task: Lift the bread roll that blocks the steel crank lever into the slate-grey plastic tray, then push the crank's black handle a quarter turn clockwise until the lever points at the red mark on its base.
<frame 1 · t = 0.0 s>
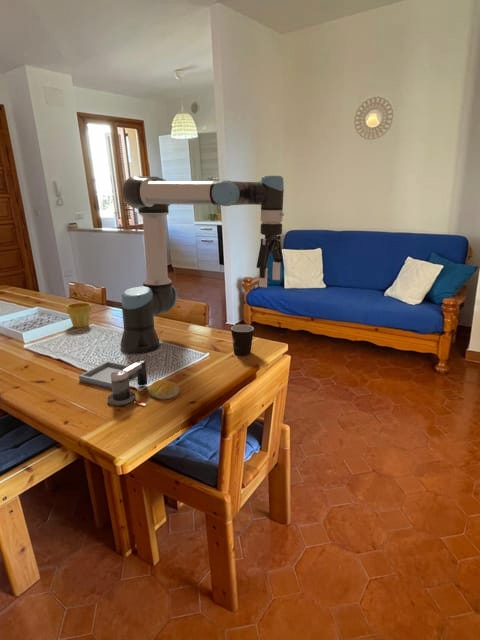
hand: (269, 283, 149), 28 cm above the table, tool pointing down, fingers open, 13 cm apart
plant pot: (81, 325, 191), on the table
crank: (130, 379, 126), point 5 cm above the table, hinge at 90.0°
bread roll: (164, 394, 128), on the table
coffee mug: (243, 351, 161), on the table
tray: (110, 377, 138), on the table
crank hub: (121, 399, 123), on the table
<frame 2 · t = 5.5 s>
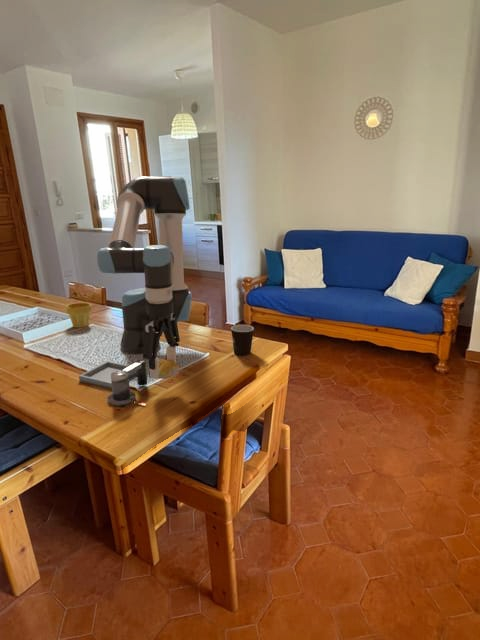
hand: (163, 371, 126), 7 cm above the table, tool pointing down, fingers closed on bread roll, 8 cm apart
bread roll: (164, 373, 126), point 6 cm above the table, touching gripper
everything else where it was.
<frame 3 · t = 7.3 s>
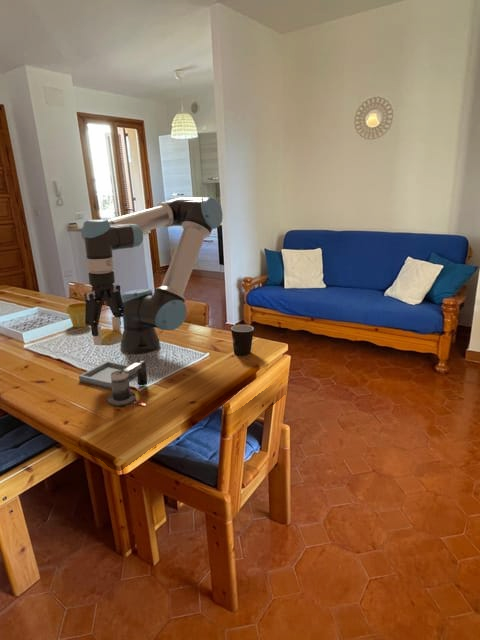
hand: (108, 340, 134), 13 cm above the table, tool pointing down, fingers closed on bread roll, 8 cm apart
bread roll: (109, 342, 134), point 13 cm above the table, touching gripper
everything else where it was.
when the fingers open (2 cm above the table, at t = 9.6 s): bread roll stays where it is, resting on tray.
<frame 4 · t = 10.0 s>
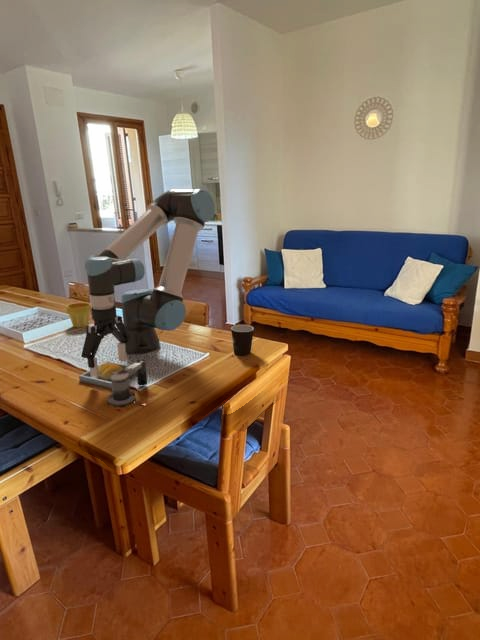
hand: (109, 368, 137), 3 cm above the table, tool pointing down, fingers open, 13 cm apart
bread roll: (110, 375, 138), resting on tray
everything else where it was.
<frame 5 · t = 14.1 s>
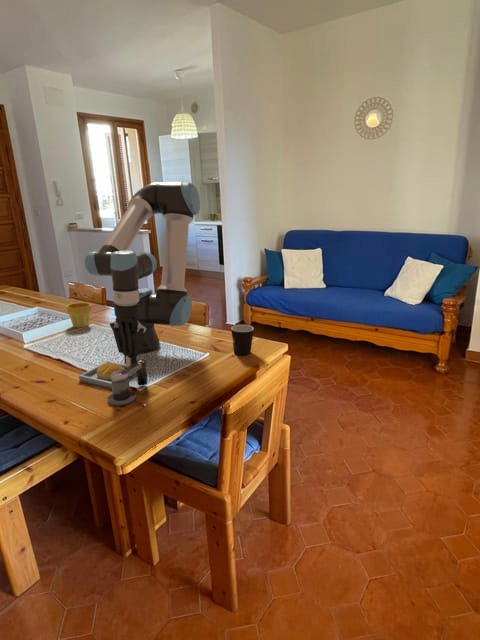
hand: (131, 374, 132), 4 cm above the table, tool pointing down, fingers closed
crank: (130, 379, 126), point 5 cm above the table, hinge at 89.8°, touching gripper
everything else where it was.
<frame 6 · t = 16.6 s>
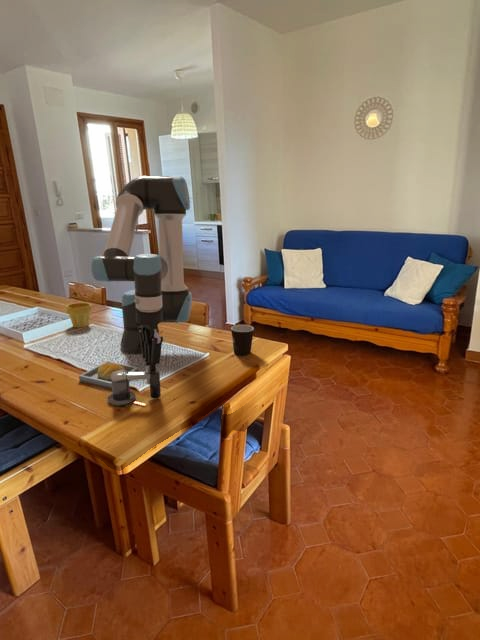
hand: (151, 382, 126), 4 cm above the table, tool pointing down, fingers closed
crank: (136, 385, 122), point 5 cm above the table, hinge at 28.1°, touching gripper
everything else where it was.
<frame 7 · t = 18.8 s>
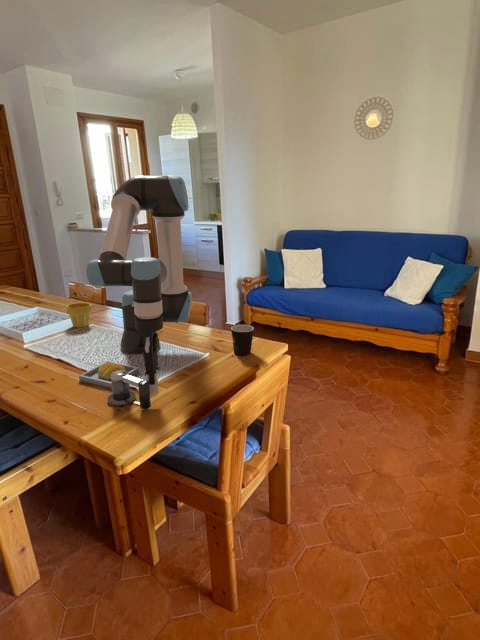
hand: (153, 392, 120), 4 cm above the table, tool pointing down, fingers closed
crank: (131, 389, 119), point 5 cm above the table, hinge at -10.1°
everything else where it was.
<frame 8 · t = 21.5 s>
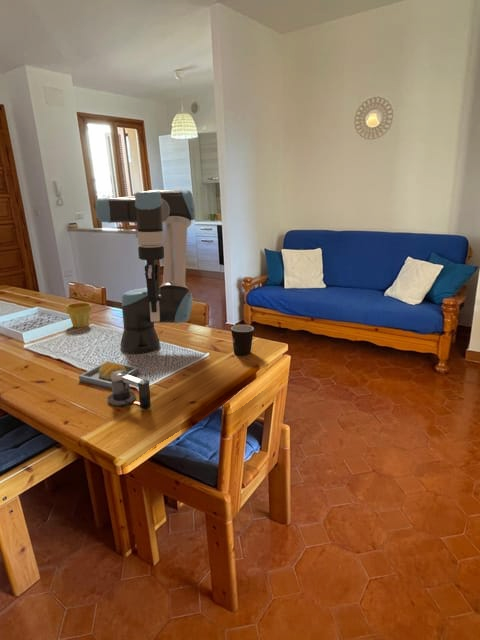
hand: (155, 320, 130), 20 cm above the table, tool pointing down, fingers closed
nothing on the table moved.
at the end: crank at -10° (first picture: +90°); bread roll inside the target area on the tray (0.9 cm from its centre), point 0.4 cm above the tray's base; the gripper is holding nothing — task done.
